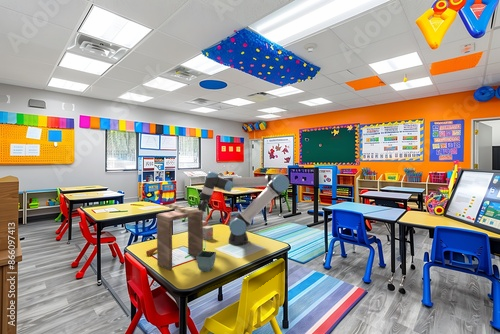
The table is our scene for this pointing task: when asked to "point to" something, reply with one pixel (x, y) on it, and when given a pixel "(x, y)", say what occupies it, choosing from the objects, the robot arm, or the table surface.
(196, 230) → the shelf
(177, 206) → the salad server
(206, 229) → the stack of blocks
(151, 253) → the kendama
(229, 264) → the table surface
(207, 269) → the flower pot
